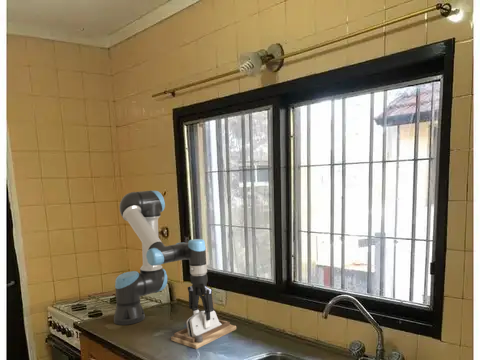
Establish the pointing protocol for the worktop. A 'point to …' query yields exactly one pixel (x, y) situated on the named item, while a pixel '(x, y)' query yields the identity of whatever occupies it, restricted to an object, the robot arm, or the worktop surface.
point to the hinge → (201, 323)
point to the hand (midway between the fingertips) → (202, 326)
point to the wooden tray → (203, 335)
